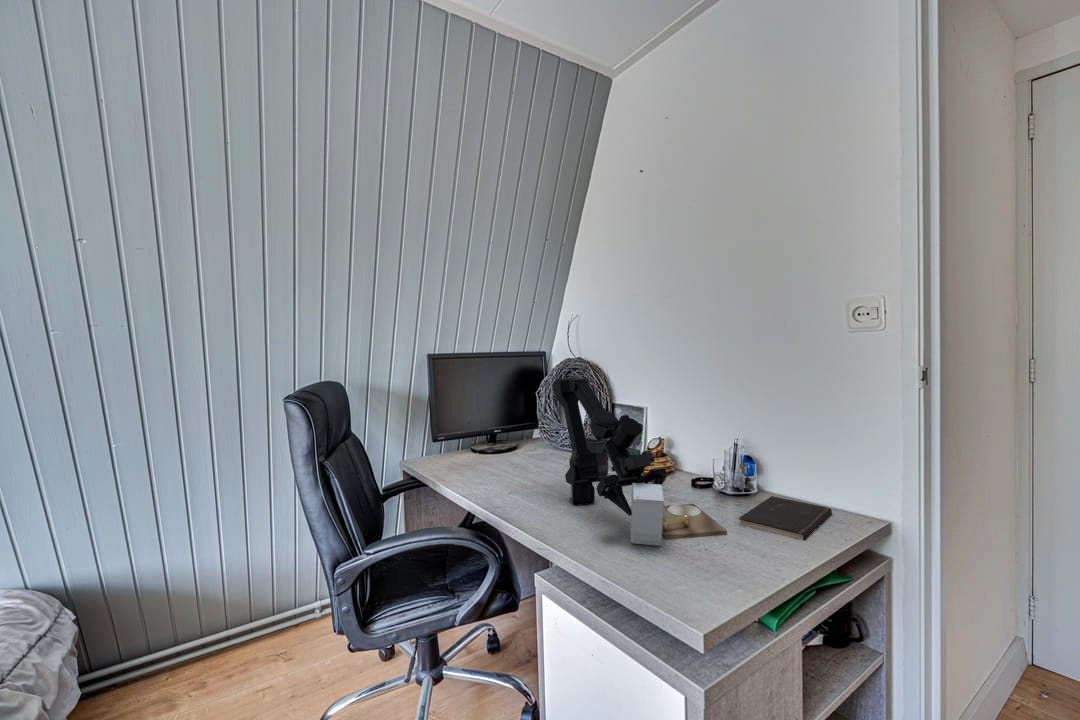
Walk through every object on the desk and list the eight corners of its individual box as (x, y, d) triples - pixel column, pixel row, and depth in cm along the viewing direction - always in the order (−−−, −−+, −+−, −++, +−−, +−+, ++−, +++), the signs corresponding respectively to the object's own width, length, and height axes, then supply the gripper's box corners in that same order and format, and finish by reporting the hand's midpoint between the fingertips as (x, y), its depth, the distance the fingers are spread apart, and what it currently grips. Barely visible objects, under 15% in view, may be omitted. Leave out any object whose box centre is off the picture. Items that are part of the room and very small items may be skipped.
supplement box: (661, 546, 118) (664, 501, 114) (630, 543, 119) (632, 499, 115) (659, 527, 125) (662, 483, 121) (630, 524, 126) (631, 481, 122)
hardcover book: (738, 526, 130) (738, 517, 129) (771, 503, 146) (771, 495, 146) (804, 543, 118) (804, 534, 118) (832, 516, 134) (832, 508, 134)
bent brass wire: (677, 535, 121) (676, 523, 121) (662, 531, 124) (662, 519, 124) (698, 521, 130) (698, 509, 130) (684, 517, 133) (683, 506, 132)
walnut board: (664, 539, 122) (664, 534, 122) (639, 511, 141) (639, 506, 141) (727, 534, 123) (726, 529, 123) (693, 507, 143) (693, 503, 143)
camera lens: (595, 474, 180) (594, 433, 180) (613, 478, 175) (612, 436, 174) (581, 479, 175) (580, 437, 174) (599, 483, 169) (598, 440, 168)
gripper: (601, 444, 121) (627, 501, 111) (662, 436, 128) (692, 489, 118) (586, 468, 128) (609, 524, 118) (645, 460, 136) (672, 511, 126)
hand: (647, 511), depth 120 cm, fingers closed on supplement box, 9 cm apart
